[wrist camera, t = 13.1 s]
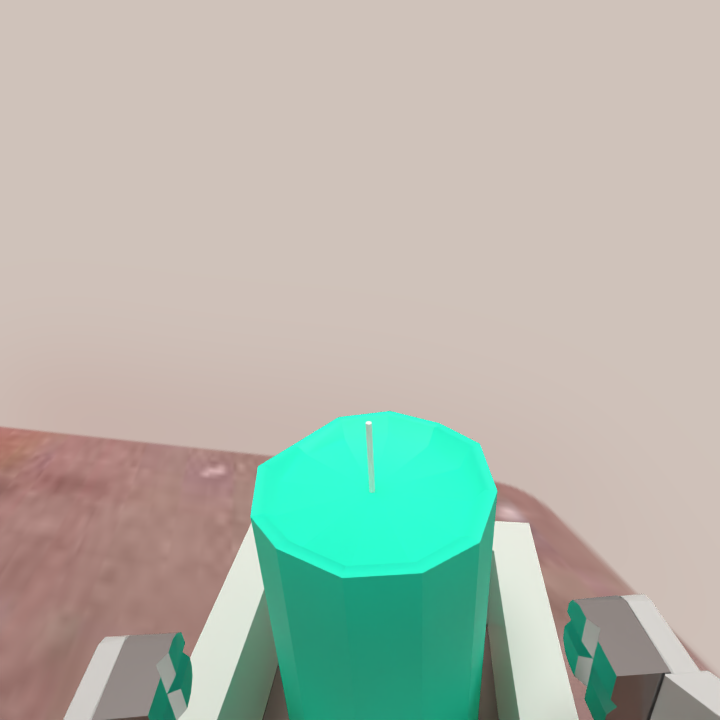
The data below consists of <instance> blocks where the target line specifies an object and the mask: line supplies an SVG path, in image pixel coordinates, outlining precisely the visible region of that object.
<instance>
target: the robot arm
mask: <svg viewBox="0 0 720 720" xmlns="http://www.w3.org/2000/svg"><path fill="white" fill-rule="evenodd" d="M567 612H568V614H569V616H570V618H571V621H570V622H569V623H568V624H567V625H566V626H565V628H564V636H563V639H564V646H565V652H566V656H567V659H568V662H569V665H570V667H571V669H572V672H573V674H574V676H575V677H576V678H577V679H578V680H580V681H581V682H582V683H583V684H584V685H586V686H587V690H586V695H585V701H586V703H587V705H588V708H589V710H590V712H591V714H592V717H593V719H594V720H720V679H719V678H718V677H716V676H715V675H713V674H712V673H710V672H709V671H700V670H699V668H698V667H697V666H696V664H695V663H694V661H693V660H692V658H691V657H690V655H689V654H688V653H687V651H686V650H685V648H684V647H683V645H682V644H681V643H680V641H679V640H678V638H677V637H676V635H675V634H674V632H673V631H672V630H671V628H670V627H669V625H668V624H667V622H666V621H665V619H664V618H663V617H662V615H661V614H660V612H659V611H658V609H657V608H656V606H654V604H653V602H652V601H651V599H650V598H649V597H647V596H646V595H645V594H636V595H626V596H607V597H596V598H586V599H576V600H572V601H571V602H570V603H569V606H568V611H567ZM184 645H185V641H184V639H183V636H182V633H181V632H178V633H162V634H145V635H126V636H113V637H105V638H104V639H103V640H102V641H101V643H100V644H99V645H98V646H97V648H96V650H95V652H94V655H93V657H92V659H91V661H90V663H89V665H88V667H87V669H86V672H85V674H84V676H83V678H82V680H81V682H80V684H79V687H78V689H77V691H76V693H75V695H74V697H73V699H72V702H71V704H70V706H69V708H68V710H67V712H66V714H65V716H64V719H63V720H178V719H179V718H180V716H181V715H182V714H183V713H184V712H185V711H186V709H187V708H188V703H189V699H190V695H191V688H192V678H193V674H192V664H191V661H190V657H189V656H187V655H186V654H184V653H183V648H184Z"/></svg>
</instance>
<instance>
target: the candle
mask: <svg viewBox="0 0 720 720" xmlns="http://www.w3.org/2000/svg"><path fill="white" fill-rule="evenodd" d="M496 501H497V489H496V486H495V483H494V481H493V478H492V476H491V473H490V470H489V467H488V465H487V462H486V459H485V457H484V454H483V451H482V448H481V446H480V444H479V443H477V442H475V441H473V440H471V439H469V438H467V437H466V436H464V435H461V434H460V433H458V432H455V431H454V430H452V429H450V428H448V427H446V426H444V425H442V424H440V423H436V422H432V421H428V420H424V419H420V418H416V417H412V416H408V415H404V414H400V413H396V412H392V411H387V412H378V413H370V414H361V415H353V416H344V417H338V418H336V419H335V420H333V421H332V422H330V423H328V424H327V425H325V426H323V427H322V428H320V429H318V430H317V431H315V432H314V433H312V434H310V435H309V436H307V437H305V438H304V439H302V440H300V441H299V442H297V443H296V444H294V445H292V446H291V447H289V448H287V449H286V450H284V451H282V452H281V453H279V454H277V455H276V456H274V457H273V458H271V459H269V460H268V461H266V462H264V463H263V464H261V465H259V466H258V470H257V477H256V483H255V490H254V496H253V503H252V509H251V516H250V517H251V522H252V528H253V533H254V538H255V543H256V548H257V554H258V559H259V564H260V569H261V574H262V580H263V585H264V590H265V595H266V600H267V606H268V611H269V616H270V621H271V627H272V632H273V637H274V642H275V647H276V653H277V658H278V663H279V668H280V673H281V679H282V684H283V689H284V694H285V699H286V705H287V710H288V715H289V720H478V713H479V701H480V690H481V678H482V666H483V654H484V642H485V631H486V619H487V607H488V595H489V584H490V572H491V560H492V548H493V537H494V525H495V513H496Z"/></svg>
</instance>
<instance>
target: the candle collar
mask: <svg viewBox="0 0 720 720" xmlns="http://www.w3.org/2000/svg"><path fill="white" fill-rule="evenodd" d="M486 624H488V633H489V641H490V650H491V659H492V667H493V676H494V684H495V693H496V701H497V710H498V718H499V720H579V719H578V715H577V711H576V707H575V703H574V699H573V695H572V692H571V688H570V684H569V680H568V676H567V672H566V668H565V664H564V660H563V656H562V652H561V648H560V644H559V640H558V636H557V632H556V628H555V624H554V620H553V616H552V612H551V608H550V604H549V600H548V596H547V593H546V589H545V585H544V581H543V577H542V573H541V569H540V565H539V561H538V557H537V553H536V549H535V545H534V541H533V537H532V533H531V529H530V525H529V523H518V522H499V521H495V525H494V537H493V548H492V560H491V572H490V584H489V595H488V607H487V619H486ZM190 661H191V664H192V674H193V678H192V688H191V695H190V699H189V703H188V708H187V709H186V711H185V712H184V713H183V714H182V715H181V716H180V718H179V719H178V720H262V719H263V715H264V712H265V708H266V705H267V701H268V698H269V694H270V691H271V687H272V684H273V680H274V677H275V673H276V670H277V666H278V658H277V653H276V647H275V642H274V637H273V632H272V627H271V621H270V616H269V611H268V606H267V600H266V595H265V590H264V585H263V580H262V574H261V569H260V564H259V559H258V554H257V548H256V543H255V538H254V533H253V528H252V523H251V525H250V527H249V529H248V532H247V534H246V536H245V538H244V540H243V543H242V545H241V547H240V549H239V551H238V554H237V556H236V558H235V560H234V562H233V565H232V567H231V569H230V571H229V573H228V576H227V578H226V580H225V582H224V585H223V587H222V589H221V591H220V593H219V596H218V598H217V600H216V602H215V604H214V607H213V609H212V611H211V613H210V615H209V618H208V620H207V622H206V624H205V626H204V629H203V631H202V633H201V635H200V637H199V640H198V642H197V644H196V646H195V648H194V651H193V653H192V655H191V657H190Z"/></svg>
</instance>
